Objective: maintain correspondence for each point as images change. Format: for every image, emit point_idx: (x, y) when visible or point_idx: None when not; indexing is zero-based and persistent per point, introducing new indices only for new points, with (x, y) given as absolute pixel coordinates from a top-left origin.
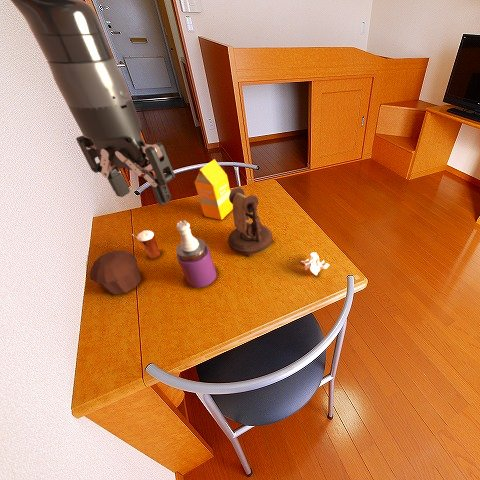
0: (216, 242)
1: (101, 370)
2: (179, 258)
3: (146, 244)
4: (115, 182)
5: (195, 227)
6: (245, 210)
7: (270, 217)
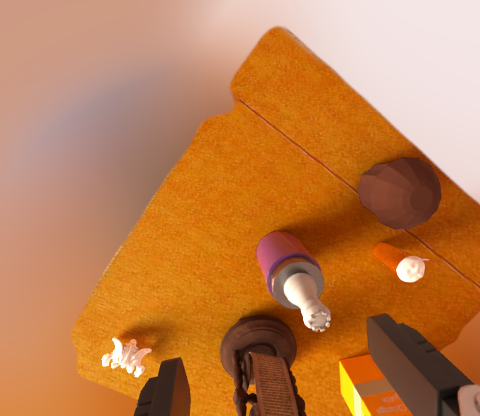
0: None
1: (284, 69)
2: (305, 257)
3: (397, 256)
4: (415, 377)
5: None
6: (255, 409)
7: None
